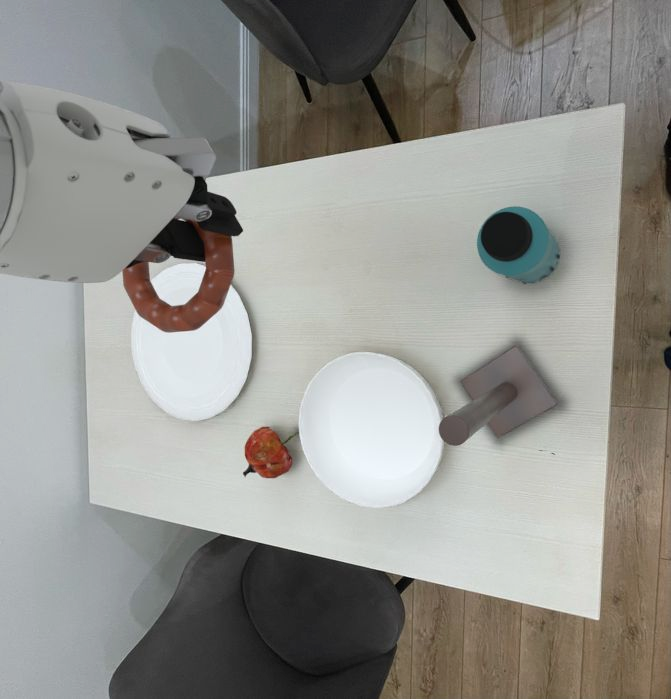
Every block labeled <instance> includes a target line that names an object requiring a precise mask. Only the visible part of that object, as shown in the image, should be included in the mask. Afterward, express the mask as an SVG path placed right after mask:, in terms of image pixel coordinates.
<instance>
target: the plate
mask: <svg viewBox="0 0 671 699" xmlns="http://www.w3.org/2000/svg"><path fill="white" fill-rule="evenodd" d="M205 270H206V265H203V264H200V263H197V262H185V263H184V262H183V263H177V264H175V265H172V266H169V267H167V268H165V269H163V270H162V271H161V272H159V273H158V274H157V275H156V276H154V277H153V278H152V279H150V281H151V283H152V285H153V287H154V289H155V291H156V293H157V295H158V296H159V298H160V299H161V300H163V301H165V302H166V303H168V304H169V305H171V306H176V305H185V304H186V303H187V302H188V301H189V300H190V299H191V298H192V297H193V296H194V295H195V294H196V293H197V292H198V290H199V287H200V285H201V282H202V279H203V276H204V273H205ZM253 337H254V335H253V331H252V325H251V321H250V316H249V313H248V311H247V308H246V306H245V304H244V301H243V299H242V297H241V295H240V293H239V292H238V291H237V290H236V288H235V287H234V286H233V285H232V284H231V285H230V288H229V291H228V294H227V296H226V299H225V302H224V305H223V307H222V308H221V309H220V310H219V311H218V312H217V313H216V314H215V315H214V316H213V317H212V318H210V319H209V320H208V321H207V322H206V323H205V324H204V325H203V326H201V327H200V328H199V329H197V330H194V331H184V332H172V333H167V332H163V331H161V330H160V329H158V328H157V327H155V326H154V325H152V324H151V323H149V322H148V321H146V320H145V319H143V318H142V317H140V316H139V315H138V313H137V312H136V310H135V309H134V312H133V318H132V322H131V328H130V350H131V355H132V360H133V366H134V369H135V372H136V374H137V376H138V378H139V382H140V384H141V387H142V388H143V389H144V390H145V392H146V393H147V395H148V397H149V398H150V399H151V401H152V402H153V403H155V404H156V405H157V406H158V407H159V408H160V409H161V410H162V411H164V413H167V414H169V415H171V416H173V417H175V418H177V419H179V420H184V421H192V422H198V421H203V420H209V419H212V418H214V417H216V416H218V415H219V414H221V413H222V412H224V411H226V410H227V409H228V408H229V407H230V406H231V405H232V404H233V403H234V402H235V401H236V399H237V398H239V396H240V393H241V392H242V390H243V388H244V386H245V384H246V382H247V380H248V377H249V373H250V369H251V364H252V360H253V340H254V338H253Z"/></svg>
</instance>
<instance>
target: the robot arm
mask: <svg viewBox="0 0 671 699" xmlns="http://www.w3.org/2000/svg"><path fill="white" fill-rule="evenodd" d="M217 157H218V155H217V154H216V151H215V150H214V148H213V147H212V145H211V144H210V142H209V140H208V139H207V137H205V136H189V137H185V136H184V137H172V136H171V134H170V132H169V131H168V129H167V128H166V127H165V126H164V125H163V124H162V123H160V122H158V121H156V120H154V119H152V118H150V117H147V116H144V115H142V114H140V113H137V112H134V111H131V110H128V109H125V108H123V107H120V106H117V105H114V104H111V103H108V102H104V101H101V100H98V99H94V98H92V97H87V96H84V95H80V94H77V93H74V92H69V91H65V90H61V89H56V88H51V87H46V86H41V85H36V84H30V83H29V84H28V83H24V82H23V83H22V82H16V81H15V82H14V81H4V80H0V274H2V275H8V276H14V277H20V278H25V279H31V280H40V281H48V282H58V283H59V282H60V283H70V284H71V283H72V284H95V283H96V284H98V283H106V282H108V281H110V280H112V279H113V278H115V277H117V276H118V275H119V274H121V273H122V271H123V270H124V269H125V268H130V267H132V266H134V265H136V264H139V263H142V262H144V261H146V262H149V263H154V264H161V263H164V262H167V261H168V260H169V259H170V258H171V257H173V258H174V259H179V260H186V261H195V262H203V263H205V251H204V243H203V241H202V239H201V237H200V236H199V234H198V232H197V230H196V229H195V227H194V225H192V224H190V223H189V222H187V221H184V220H183V219H185V220H191V221H196V222H197V223H198V225H199V227H200V228H201V229H202V230H205V231H210V232H215V233H219V234H224V235H229V236H232V237H233V238H234V237H239V236H240V235H241V234H242V233H243V232H244V229H243V227H242V225H241V224H240V222H239V220H238V218H237V217H236V215H237V212H238V211H237V209H236V208H235V206H234V204H233V202H232V201H231V200H230V199H229V198H227V197H226V196H223V195H221V194H217V193H214V192H211V191H208V183H207V182H206V180H207V178H208V177H210V175H211V172H212V170H213V167H214V166H215V163H216V161H217ZM173 217H175V218H180V219H173Z"/></svg>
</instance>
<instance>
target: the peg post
mask: <svg viewBox="0 0 671 699" xmlns="http://www.w3.org/2000/svg"><path fill="white" fill-rule="evenodd" d="M459 383H460V384H461V386H462V387H463V389H464V390H465V392H466V393H467V395H468V396H469V398H470V399H471V401H470V402H468V403H466V404H465V405H463V406H461V407H459V408H458V409H456V410H455V411H453V412H451V413H450V414H448V415H447V416H445V417H443V418H444V419H443V420H442V421H441V422H440V424H439V434H440V437H441V438H442V440H443V441H444V442H445V444H447V445H449V446H454V447H458V446H461V445H463V444H464V443H466V442H467V441H468V440H469V439H470V438H471V437H472V436H474V435H475V434H476V433H477V432H478V431H480V430H481V429H482V428H483V427H484V426H486V425H488V427H489V429H490V430H491V431H492V432H493V434H494V435H495V437H496V438H497V439H499V438H500V437H502V436H505V435H507V433H509V432H512V430H514V429H517V428H518V427H520V426H522V425H523V424H525V423H527V422H528V421H530V420H532V419H535V418H536V417H537V416H539V415H541V414H542V413H545V412H546V411H548V410H549V409H552V408H553V407H555V406H557V405H558V403H559V401H558V400H557V399H556V397H555V396H554V394H553V393H552V391H551V390H550V388H549V387H548V386H547V384H546V383H545V382H544V380H543V379H542V378H541V376H540V374H539V373H538V372H537V371H536V368H535V367H534V365H533V364H532V363H531V362H530V360H529V359H528V358H527V356H526V355H525V354H524V351H522V349H521V348H520V346H519V345H518V344H517V345H515V346H513V347H512V348H510V349H508V350H507V351H505V352H504V353H502V354H501V355H499V356H498V357H496V358H495V359H493V360H491V361H490V362H488V363H487V364H485V365H483V366H482V367H481V368H479V369H478V370H476V371H474V372H473V373H471V374H470V375H468V376H467V377H465V378H463V379H462V380H460V381H459Z"/></svg>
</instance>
